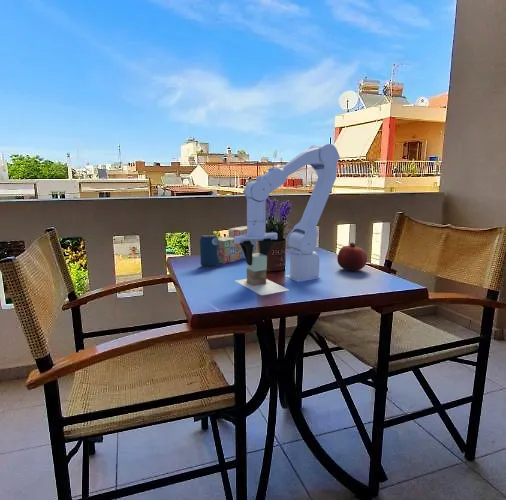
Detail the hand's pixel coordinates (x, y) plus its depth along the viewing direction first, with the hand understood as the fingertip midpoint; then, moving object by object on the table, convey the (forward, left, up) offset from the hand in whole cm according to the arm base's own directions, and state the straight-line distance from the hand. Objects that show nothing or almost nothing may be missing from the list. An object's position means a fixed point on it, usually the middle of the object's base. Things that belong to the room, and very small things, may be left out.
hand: (256, 263), depth 118 cm
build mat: (0, +3, -7) cm, 7 cm away
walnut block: (0, 0, -6) cm, 6 cm away
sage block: (0, 0, -2) cm, 2 cm away
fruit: (-38, +3, -7) cm, 39 cm away
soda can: (+4, -28, -7) cm, 29 cm away
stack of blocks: (-11, -35, -7) cm, 38 cm away
